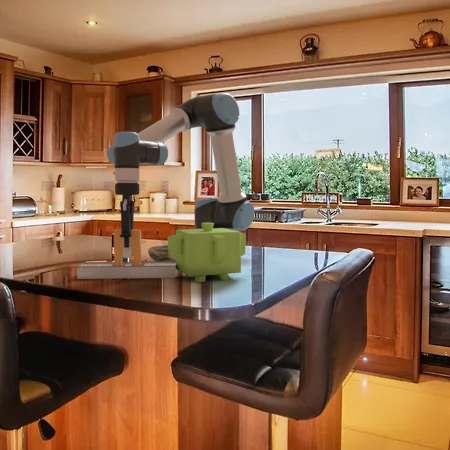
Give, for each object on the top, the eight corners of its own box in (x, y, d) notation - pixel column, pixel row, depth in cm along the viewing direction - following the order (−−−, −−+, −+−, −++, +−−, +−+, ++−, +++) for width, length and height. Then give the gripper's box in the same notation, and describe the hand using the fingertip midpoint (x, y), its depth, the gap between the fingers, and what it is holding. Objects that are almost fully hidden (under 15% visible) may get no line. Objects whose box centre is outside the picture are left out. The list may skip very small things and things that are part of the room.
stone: (158, 257, 168) (152, 235, 174) (148, 273, 175) (142, 251, 180) (192, 258, 175) (185, 236, 181) (181, 274, 182) (175, 252, 188)
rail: (176, 273, 157) (176, 261, 157) (175, 277, 149) (175, 265, 149) (83, 274, 155) (82, 262, 155) (77, 278, 147) (77, 266, 147)
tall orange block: (141, 267, 153) (140, 229, 152) (140, 268, 150) (139, 230, 149) (115, 267, 153) (115, 229, 152) (114, 268, 150) (113, 230, 149)
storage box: (180, 287, 134) (180, 226, 133) (158, 274, 155) (158, 221, 154) (260, 281, 144) (260, 224, 143) (229, 269, 165) (229, 219, 164)
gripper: (118, 182, 157) (119, 253, 159) (110, 182, 141) (111, 260, 143) (141, 182, 158) (142, 253, 160) (136, 182, 142) (137, 260, 144)
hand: (128, 256), depth 151 cm, fingers closed on tall orange block, 3 cm apart
